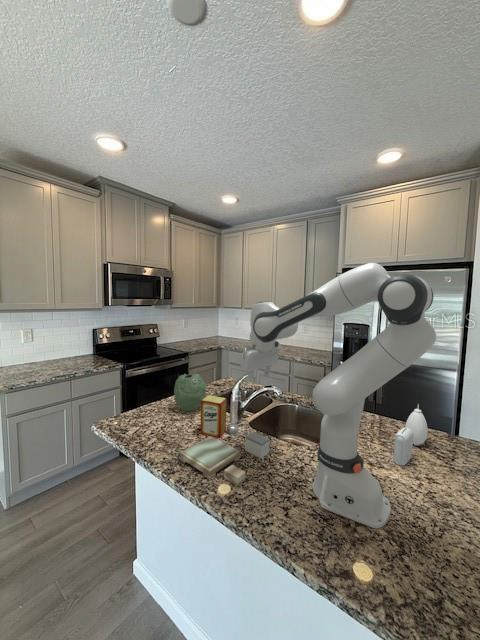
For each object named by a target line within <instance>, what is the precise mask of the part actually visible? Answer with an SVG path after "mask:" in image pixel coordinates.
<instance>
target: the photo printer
mask: <svg viewBox="0 0 480 640" xmlns="http://www.w3.org/2000/svg"><path fill="white" fill-rule="evenodd" d="M393 446H394V447H393V448H394V449H393V458H392V459H393V461H392V462H394V464H396V465H398V466H400V467H402V466H405V465H407V463H409V461H410V460H411V458H412V453H413V431H412V430H411V429H410V428H407V427H405V426H404V427H402V428H401V429H399V430H398V431H397V433H396V434H395V436H394V445H393Z"/></svg>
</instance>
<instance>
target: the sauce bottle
mask: <svg viewBox="0 0 480 640" xmlns="http://www.w3.org/2000/svg"><path fill="white" fill-rule="evenodd" d="M419 405H420V404H419V403H417V408H415V409H413V411H412V412H411V413H410V415H409V416H408V418H407V420H406V422H405V425H404V428H405V427H407V428H410V429H411V430H412V431H413V444H414V445H413V444H412V445H413V446H421V445H423V444H424V443H425V441H426V439H427V438H428V423H427V421H426V418H425V416H424V414H423V412H422V410H421V409H419V407H420V406H419Z"/></svg>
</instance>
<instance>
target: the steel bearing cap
mask: <svg viewBox="0 0 480 640" xmlns="http://www.w3.org/2000/svg"><path fill="white" fill-rule="evenodd" d="M238 427H239V425H238V424H237V423H232V422H231V423H226V434H228V435H232V436H233V435H237V434H238V432H239V431H238V430H239V428H238Z"/></svg>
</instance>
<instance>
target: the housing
mask: <svg viewBox="0 0 480 640" xmlns="http://www.w3.org/2000/svg"><path fill="white" fill-rule="evenodd" d="M244 441H245V444H244V445H245V447H244V451H245V452H247V453H249V454H251V455H253V456H255V457H256V458H259V459H263V458H264V457H265V456H267V455H269V454H270V453H269V452H270V438H269V437H266V436H264V435H261V434H259V433H257V432H255V431H252V432H251V433H249V434H247V435H245V440H244Z"/></svg>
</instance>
